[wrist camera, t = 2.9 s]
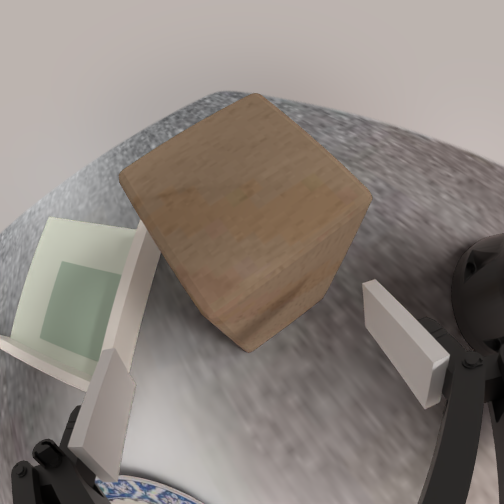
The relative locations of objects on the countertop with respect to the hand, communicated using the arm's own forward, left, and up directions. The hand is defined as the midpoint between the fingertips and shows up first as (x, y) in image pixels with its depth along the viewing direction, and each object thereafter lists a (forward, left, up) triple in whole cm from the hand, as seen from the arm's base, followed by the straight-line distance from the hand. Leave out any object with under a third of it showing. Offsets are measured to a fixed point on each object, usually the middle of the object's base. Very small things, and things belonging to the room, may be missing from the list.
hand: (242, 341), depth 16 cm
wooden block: (-2, -7, -17) cm, 19 cm away
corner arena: (+20, -12, -17) cm, 29 cm away
